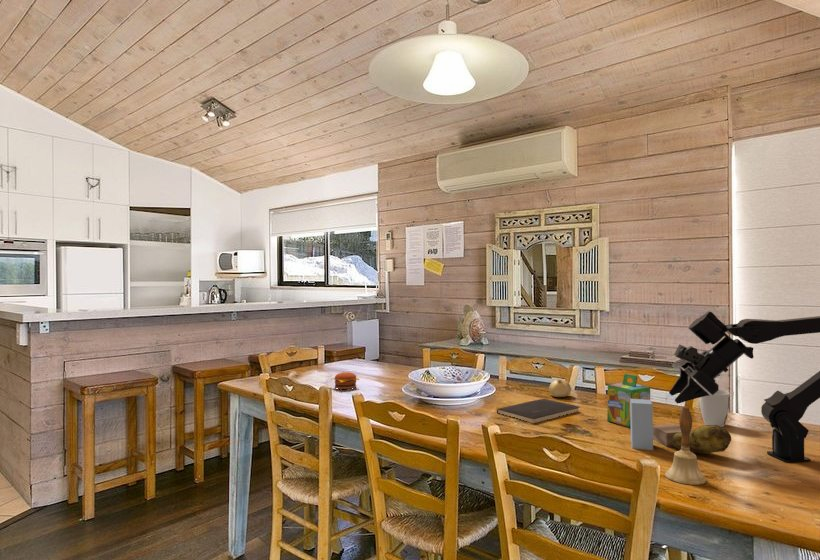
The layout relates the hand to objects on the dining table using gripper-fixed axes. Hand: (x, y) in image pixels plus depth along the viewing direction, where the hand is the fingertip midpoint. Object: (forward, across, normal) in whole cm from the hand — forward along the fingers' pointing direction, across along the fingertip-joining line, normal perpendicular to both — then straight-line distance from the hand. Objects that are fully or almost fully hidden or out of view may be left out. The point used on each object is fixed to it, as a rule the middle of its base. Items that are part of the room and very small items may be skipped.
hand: (673, 397), depth 137 cm
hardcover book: (+36, -28, -16) cm, 49 cm away
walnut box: (+9, -6, +10) cm, 15 cm away
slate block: (+15, 0, +4) cm, 15 cm away
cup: (-1, -27, +20) cm, 34 cm away
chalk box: (+16, -23, +3) cm, 28 cm away
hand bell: (+10, +21, +9) cm, 25 cm away
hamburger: (+93, -49, -73) cm, 128 cm away
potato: (+5, +3, +14) cm, 15 cm away
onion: (+31, -54, -12) cm, 64 cm away
